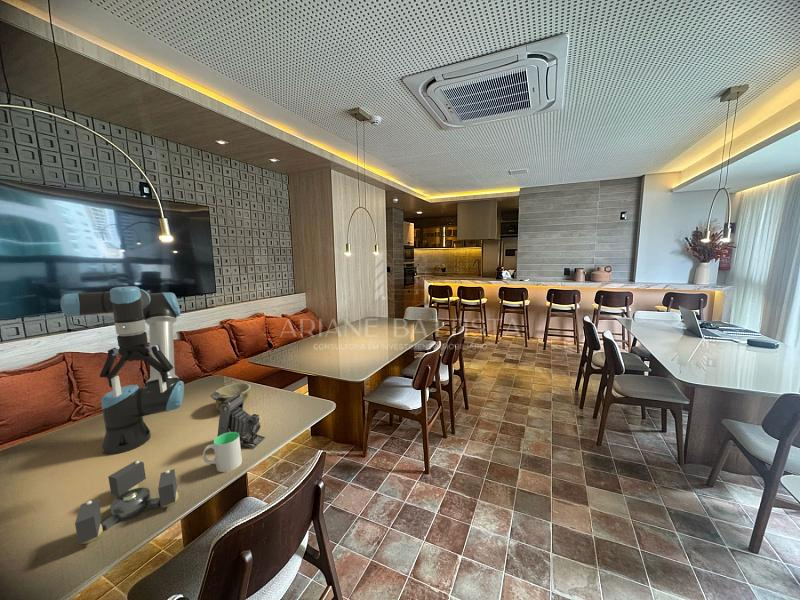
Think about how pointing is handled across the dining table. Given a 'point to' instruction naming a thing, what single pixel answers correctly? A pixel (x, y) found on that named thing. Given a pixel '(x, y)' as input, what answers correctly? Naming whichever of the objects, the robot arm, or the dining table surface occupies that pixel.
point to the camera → (239, 421)
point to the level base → (130, 505)
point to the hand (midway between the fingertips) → (141, 393)
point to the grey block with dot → (127, 478)
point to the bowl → (230, 392)
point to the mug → (226, 452)
